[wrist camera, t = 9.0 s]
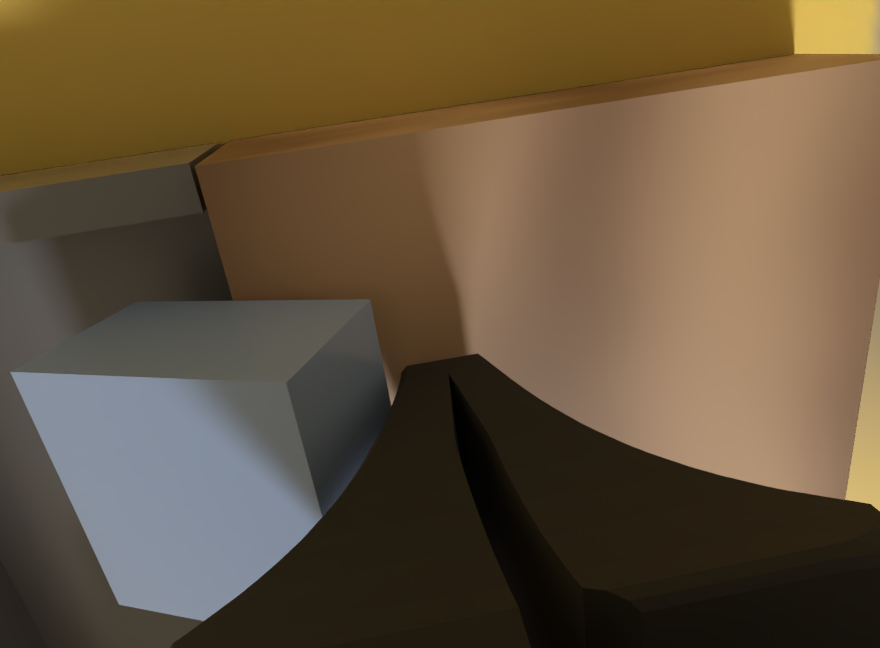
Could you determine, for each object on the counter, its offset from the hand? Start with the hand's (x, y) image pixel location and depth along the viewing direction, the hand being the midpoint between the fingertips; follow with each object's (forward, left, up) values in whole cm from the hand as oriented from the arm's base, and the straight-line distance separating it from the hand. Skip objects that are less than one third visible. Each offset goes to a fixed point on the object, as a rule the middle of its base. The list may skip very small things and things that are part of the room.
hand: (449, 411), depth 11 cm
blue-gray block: (-1, +3, -1) cm, 3 cm away
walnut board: (-4, -5, -4) cm, 7 cm away
